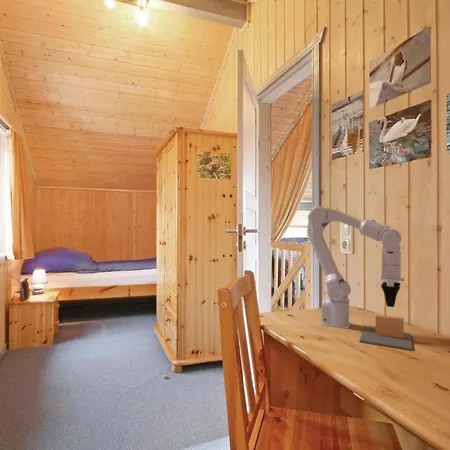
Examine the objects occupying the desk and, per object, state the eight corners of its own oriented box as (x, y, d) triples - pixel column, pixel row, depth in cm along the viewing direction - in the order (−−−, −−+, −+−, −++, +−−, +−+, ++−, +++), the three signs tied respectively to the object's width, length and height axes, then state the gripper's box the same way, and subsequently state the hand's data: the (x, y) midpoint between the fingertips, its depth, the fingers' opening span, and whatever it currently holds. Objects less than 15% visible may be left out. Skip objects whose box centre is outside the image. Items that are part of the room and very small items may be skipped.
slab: (375, 334, 107) (375, 316, 107) (376, 332, 109) (376, 314, 109) (403, 338, 103) (403, 319, 103) (403, 336, 105) (403, 317, 105)
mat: (359, 342, 101) (359, 340, 101) (364, 328, 115) (364, 327, 115) (412, 350, 94) (412, 348, 94) (410, 335, 109) (410, 333, 109)
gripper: (404, 267, 103) (404, 311, 103) (404, 263, 116) (404, 302, 116) (379, 265, 106) (379, 308, 106) (382, 262, 119) (381, 300, 119)
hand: (390, 305), depth 111 cm, fingers open, 5 cm apart
